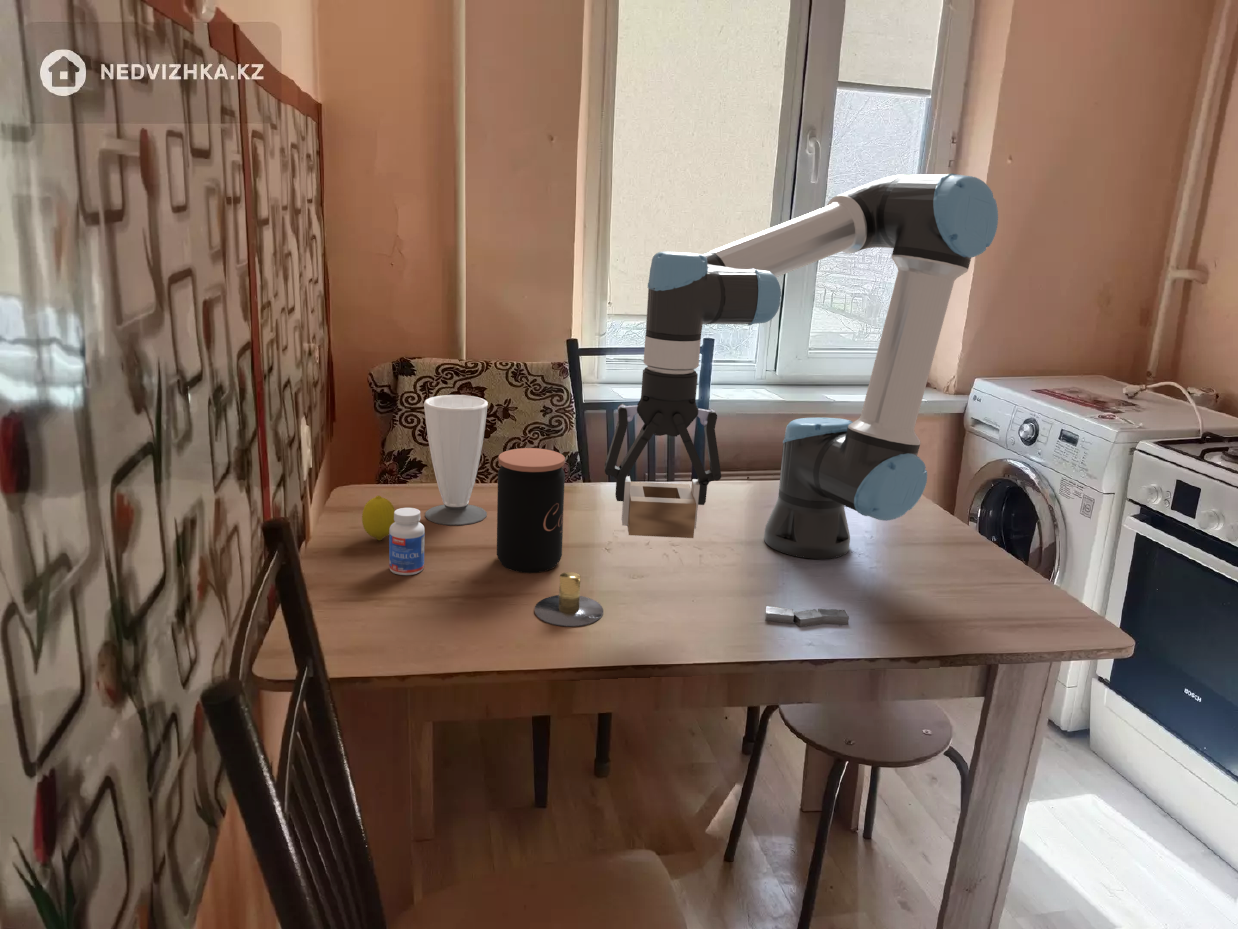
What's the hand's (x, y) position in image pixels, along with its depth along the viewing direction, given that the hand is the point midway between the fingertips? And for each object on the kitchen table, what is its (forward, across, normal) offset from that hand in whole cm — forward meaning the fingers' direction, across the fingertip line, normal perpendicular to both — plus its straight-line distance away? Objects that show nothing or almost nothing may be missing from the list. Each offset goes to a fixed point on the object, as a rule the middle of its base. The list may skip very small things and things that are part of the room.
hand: (658, 523), depth 131 cm
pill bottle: (+14, +38, -13) cm, 43 cm away
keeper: (+14, +12, 0) cm, 19 cm away
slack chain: (+14, -23, +1) cm, 27 cm away
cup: (+14, +34, -39) cm, 53 cm away
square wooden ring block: (0, 0, 0) cm, 0 cm away
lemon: (+14, +45, -25) cm, 53 cm away
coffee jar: (+14, +19, -18) cm, 30 cm away
